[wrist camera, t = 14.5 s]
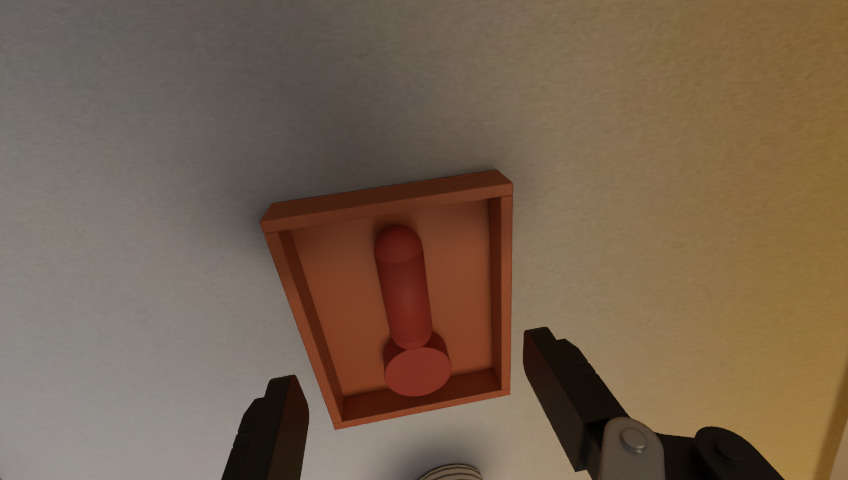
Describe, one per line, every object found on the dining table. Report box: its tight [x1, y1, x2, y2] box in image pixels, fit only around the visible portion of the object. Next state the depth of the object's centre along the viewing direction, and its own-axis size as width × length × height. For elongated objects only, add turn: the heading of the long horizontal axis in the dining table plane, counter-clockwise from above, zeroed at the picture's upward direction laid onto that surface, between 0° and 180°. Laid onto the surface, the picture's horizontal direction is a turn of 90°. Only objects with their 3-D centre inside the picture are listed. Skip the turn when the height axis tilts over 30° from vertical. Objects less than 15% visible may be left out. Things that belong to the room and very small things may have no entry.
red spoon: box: [374, 225, 452, 396], centre depth 19 cm, size 11×4×2 cm, turn 6°
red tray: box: [260, 170, 513, 430], centre depth 19 cm, size 14×11×2 cm
